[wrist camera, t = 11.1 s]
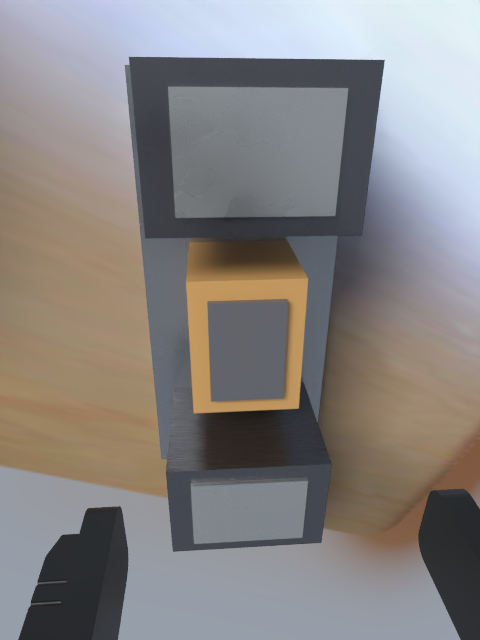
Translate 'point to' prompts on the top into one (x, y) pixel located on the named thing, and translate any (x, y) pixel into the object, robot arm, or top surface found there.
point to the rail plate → (246, 225)
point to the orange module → (245, 325)
